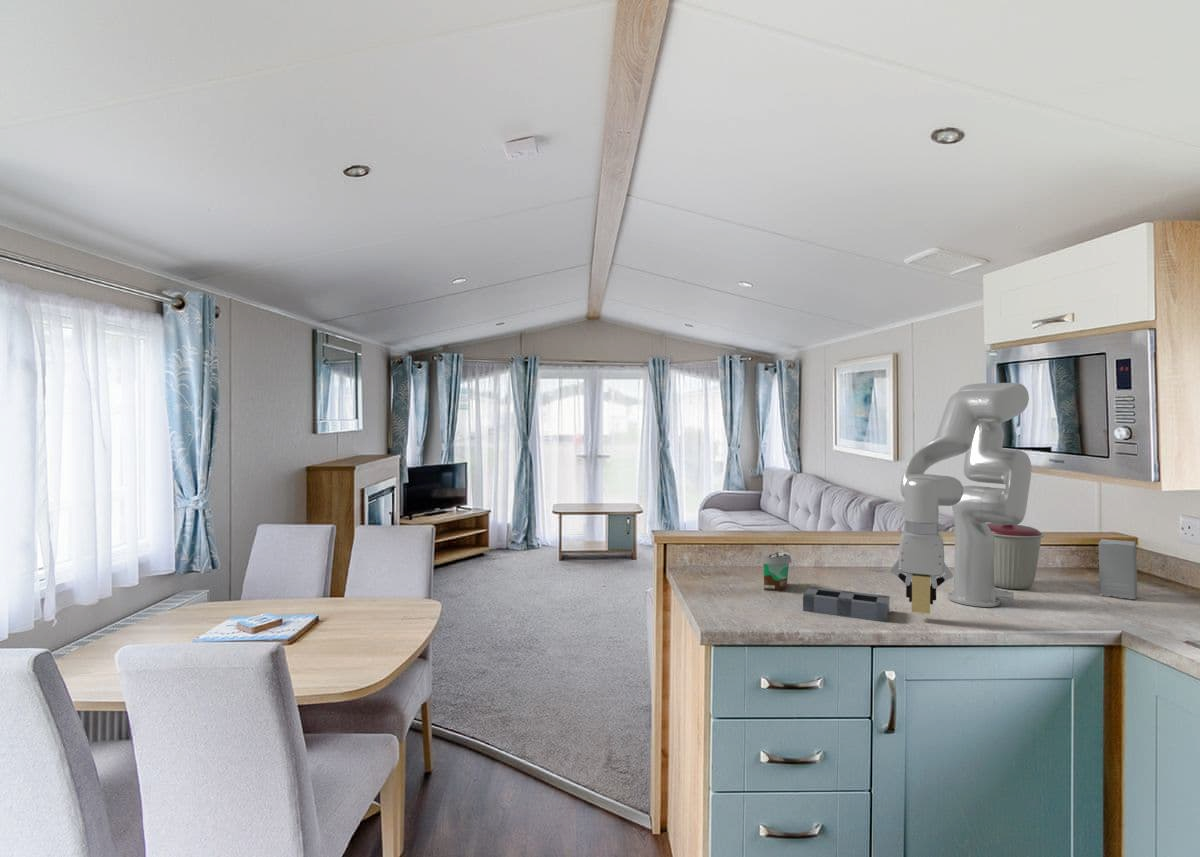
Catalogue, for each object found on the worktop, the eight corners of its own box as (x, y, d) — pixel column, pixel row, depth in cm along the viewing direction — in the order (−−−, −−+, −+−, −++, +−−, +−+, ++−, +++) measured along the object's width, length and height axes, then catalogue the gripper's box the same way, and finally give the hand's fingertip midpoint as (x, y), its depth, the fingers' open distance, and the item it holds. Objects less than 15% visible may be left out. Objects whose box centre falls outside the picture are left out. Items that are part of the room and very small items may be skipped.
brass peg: (930, 609, 165) (930, 573, 164) (930, 613, 161) (930, 577, 161) (912, 607, 166) (912, 571, 166) (911, 611, 163) (912, 575, 163)
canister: (1057, 593, 190) (1058, 520, 190) (993, 592, 191) (995, 520, 190) (1018, 578, 208) (1020, 511, 208) (960, 577, 209) (962, 511, 208)
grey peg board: (889, 611, 171) (889, 596, 171) (887, 622, 162) (887, 605, 162) (809, 601, 180) (809, 586, 180) (802, 610, 171) (803, 595, 171)
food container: (783, 594, 186) (784, 559, 186) (762, 591, 190) (763, 556, 190) (795, 585, 197) (796, 551, 197) (775, 582, 200) (776, 549, 200)
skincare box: (1137, 596, 188) (1138, 541, 188) (1135, 601, 183) (1136, 544, 182) (1100, 591, 194) (1101, 537, 193) (1097, 595, 188) (1098, 540, 188)
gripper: (959, 528, 163) (958, 601, 163) (885, 523, 170) (885, 593, 171) (960, 533, 156) (960, 610, 157) (883, 528, 163) (883, 601, 164)
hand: (921, 600), depth 164 cm, fingers closed on brass peg, 4 cm apart
